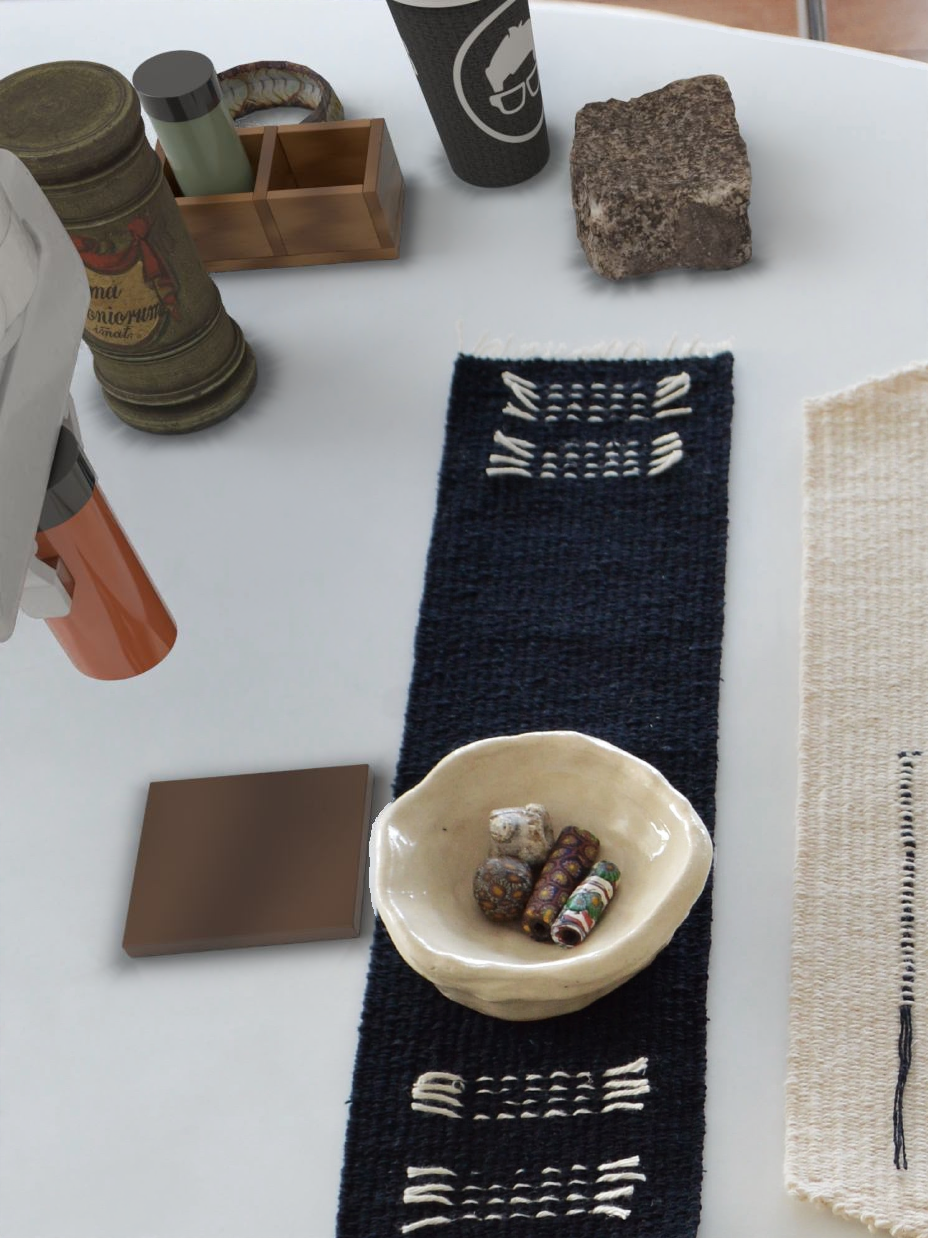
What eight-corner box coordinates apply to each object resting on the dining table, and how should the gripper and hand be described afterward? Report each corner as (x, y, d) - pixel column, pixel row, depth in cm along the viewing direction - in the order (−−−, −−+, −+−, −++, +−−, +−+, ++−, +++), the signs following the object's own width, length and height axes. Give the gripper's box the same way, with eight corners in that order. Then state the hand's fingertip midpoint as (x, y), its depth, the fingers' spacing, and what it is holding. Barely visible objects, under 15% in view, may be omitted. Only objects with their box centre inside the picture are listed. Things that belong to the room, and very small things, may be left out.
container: (130, 333, 113) (-10, 52, 98) (276, 335, 113) (158, 54, 98) (88, 436, 109) (-66, 158, 93) (240, 438, 108) (111, 160, 93)
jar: (192, 249, 116) (126, 100, 108) (201, 201, 118) (137, 52, 110) (268, 243, 116) (208, 94, 108) (275, 196, 119) (217, 47, 110)
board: (129, 957, 90) (120, 946, 89) (157, 793, 95) (149, 781, 94) (359, 937, 90) (352, 926, 89) (374, 775, 95) (368, 763, 94)
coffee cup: (557, 100, 125) (504, -131, 112) (586, 184, 120) (535, -47, 107) (416, 129, 123) (345, -102, 111) (440, 216, 119) (369, -15, 106)
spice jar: (58, 687, 77) (-62, 509, 69) (76, 604, 80) (-38, 421, 71) (172, 678, 78) (67, 499, 69) (186, 595, 80) (86, 412, 71)
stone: (756, 182, 111) (764, 269, 116) (726, 61, 118) (734, 148, 123) (570, 201, 110) (586, 289, 115) (550, 77, 117) (566, 165, 122)
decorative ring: (361, 174, 121) (341, 87, 126) (345, 128, 118) (325, 41, 123) (203, 206, 120) (189, 116, 124) (183, 160, 117) (170, 70, 122)
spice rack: (172, 275, 116) (141, 208, 112) (187, 201, 120) (157, 133, 116) (398, 258, 117) (375, 191, 112) (406, 185, 120) (384, 117, 116)
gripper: (-145, 75, 68) (29, 380, 79) (-290, 470, 57) (-64, 755, 69) (31, 63, 68) (179, 369, 80) (-81, 454, 57) (108, 740, 69)
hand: (65, 551), depth 74 cm, fingers closed on spice jar, 4 cm apart
